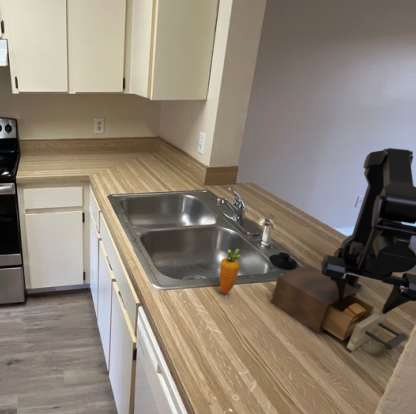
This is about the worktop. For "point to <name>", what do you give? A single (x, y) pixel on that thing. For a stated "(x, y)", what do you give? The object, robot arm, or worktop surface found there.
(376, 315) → the drawer
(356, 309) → the wooden gear wheel
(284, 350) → the worktop surface
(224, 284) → the carrot
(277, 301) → the cabinet
